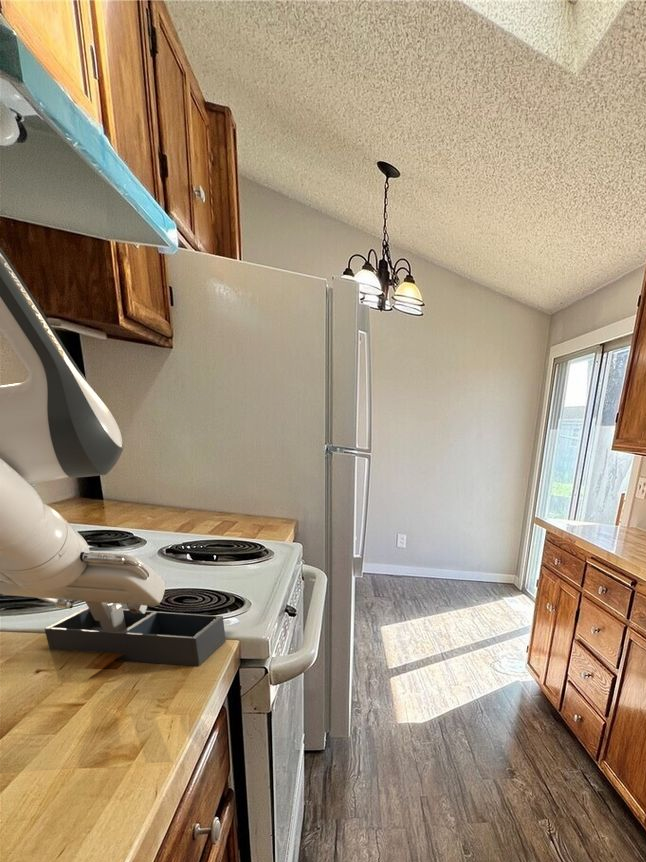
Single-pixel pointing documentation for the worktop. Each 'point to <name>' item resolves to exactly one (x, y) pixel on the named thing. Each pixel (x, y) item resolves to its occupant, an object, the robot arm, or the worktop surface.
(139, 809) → the worktop surface
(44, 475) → the robot arm
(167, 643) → the sorter
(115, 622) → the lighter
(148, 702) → the worktop surface
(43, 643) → the worktop surface
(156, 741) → the worktop surface
